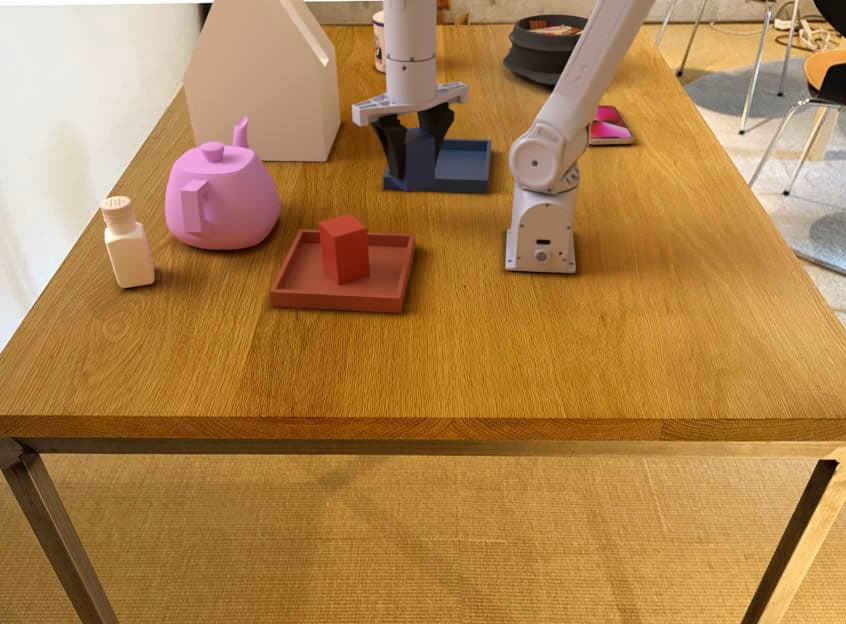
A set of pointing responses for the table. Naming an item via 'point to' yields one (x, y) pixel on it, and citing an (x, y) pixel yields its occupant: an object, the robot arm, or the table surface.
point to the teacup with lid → (379, 41)
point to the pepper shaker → (126, 243)
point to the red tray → (376, 293)
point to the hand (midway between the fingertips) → (413, 172)
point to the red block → (344, 248)
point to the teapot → (221, 195)
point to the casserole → (543, 46)
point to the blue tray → (457, 167)
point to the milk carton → (264, 80)
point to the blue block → (417, 161)
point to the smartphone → (609, 127)
